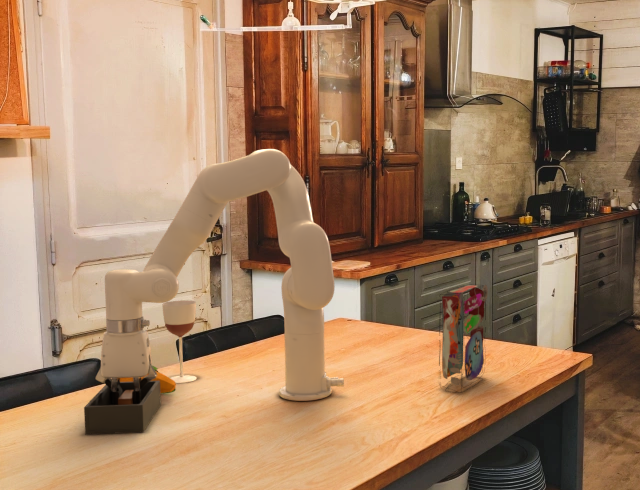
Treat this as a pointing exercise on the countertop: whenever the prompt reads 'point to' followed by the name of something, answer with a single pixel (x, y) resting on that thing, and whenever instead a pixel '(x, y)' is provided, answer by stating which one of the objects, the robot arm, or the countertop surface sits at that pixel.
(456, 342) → the box
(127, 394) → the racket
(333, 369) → the countertop surface
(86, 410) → the bin
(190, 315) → the wineglass
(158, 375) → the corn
